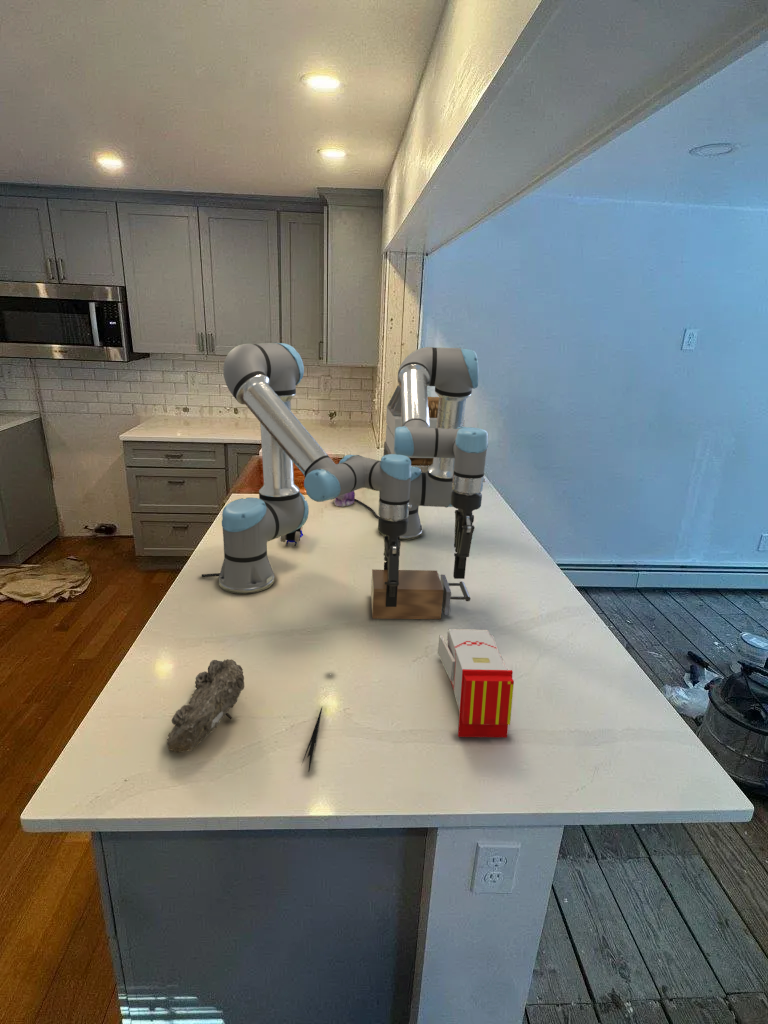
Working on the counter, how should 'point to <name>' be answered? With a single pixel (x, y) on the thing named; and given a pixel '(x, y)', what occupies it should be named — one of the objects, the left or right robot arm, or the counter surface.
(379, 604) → the cabinet
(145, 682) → the counter surface
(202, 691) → the fossil
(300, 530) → the figurine character
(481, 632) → the toy
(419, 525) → the right robot arm
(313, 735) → the feather
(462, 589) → the drawer
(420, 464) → the transformer
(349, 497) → the figurine
